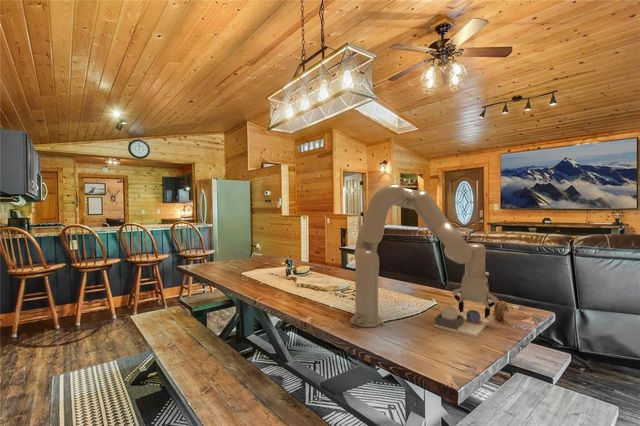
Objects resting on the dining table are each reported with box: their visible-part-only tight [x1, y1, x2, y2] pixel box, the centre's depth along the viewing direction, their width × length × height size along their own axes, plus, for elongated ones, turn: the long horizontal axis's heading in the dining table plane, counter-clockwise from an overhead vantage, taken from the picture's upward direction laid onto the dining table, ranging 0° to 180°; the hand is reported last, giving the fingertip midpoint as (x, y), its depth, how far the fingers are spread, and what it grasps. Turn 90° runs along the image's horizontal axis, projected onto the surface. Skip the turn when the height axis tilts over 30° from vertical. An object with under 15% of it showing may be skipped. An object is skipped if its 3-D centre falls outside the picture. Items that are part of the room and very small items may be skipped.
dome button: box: [441, 305, 458, 321], centre depth 132 cm, size 6×6×6 cm
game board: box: [434, 311, 489, 338], centre depth 134 cm, size 18×16×4 cm
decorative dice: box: [465, 309, 481, 323], centre depth 135 cm, size 4×4×4 cm
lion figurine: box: [492, 299, 511, 322], centre depth 142 cm, size 15×5×9 cm, turn 164°
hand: (473, 314), depth 135 cm, fingers open, 9 cm apart
